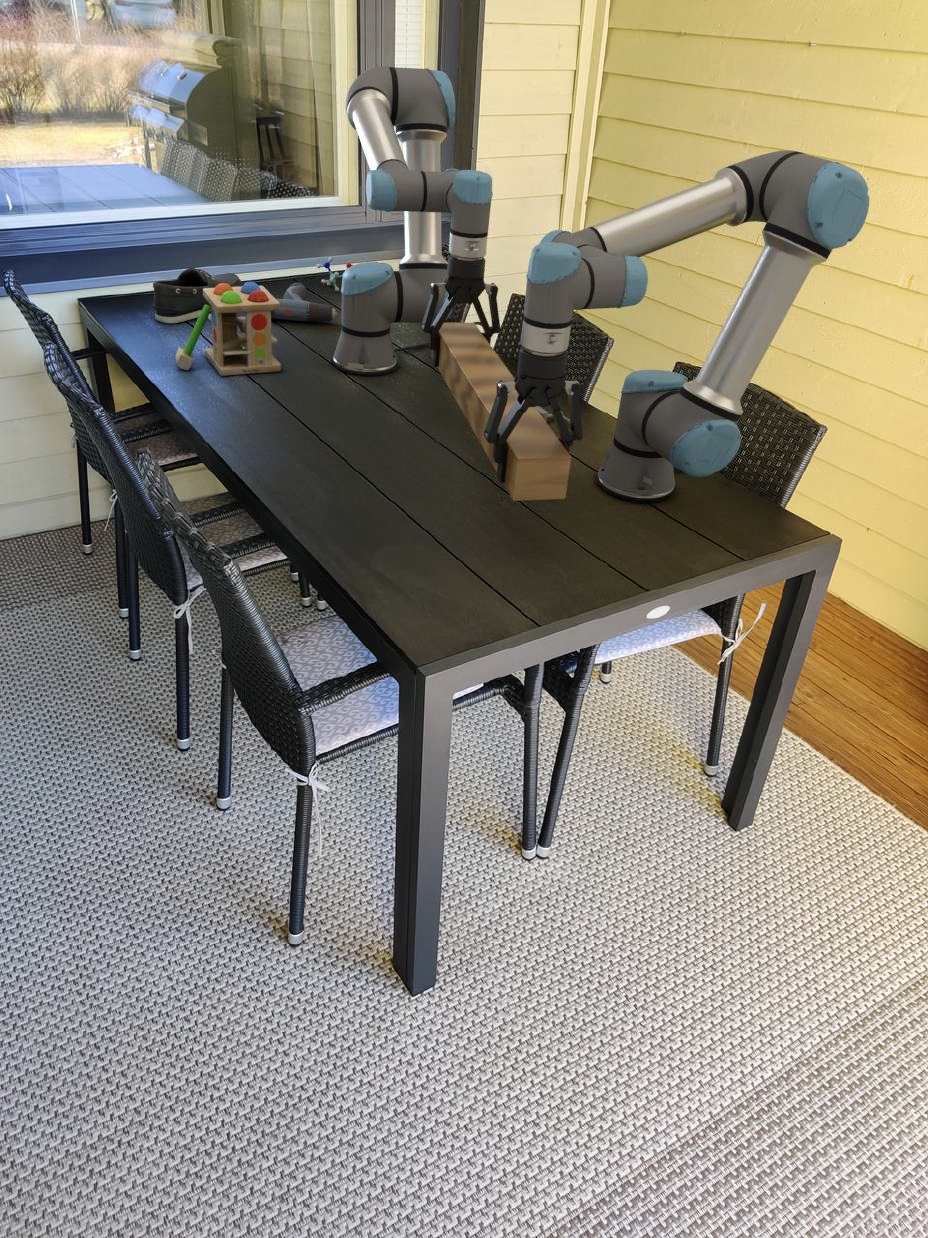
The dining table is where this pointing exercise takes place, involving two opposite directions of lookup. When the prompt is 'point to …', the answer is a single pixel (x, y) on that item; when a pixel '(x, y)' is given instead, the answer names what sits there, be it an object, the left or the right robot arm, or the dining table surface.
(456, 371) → the wide beam
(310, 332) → the dining table surface
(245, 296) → the pounding bench toy
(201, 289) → the boat shoe
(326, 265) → the molecular model
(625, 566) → the dining table surface
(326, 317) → the power drill
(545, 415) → the clamp
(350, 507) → the dining table surface
